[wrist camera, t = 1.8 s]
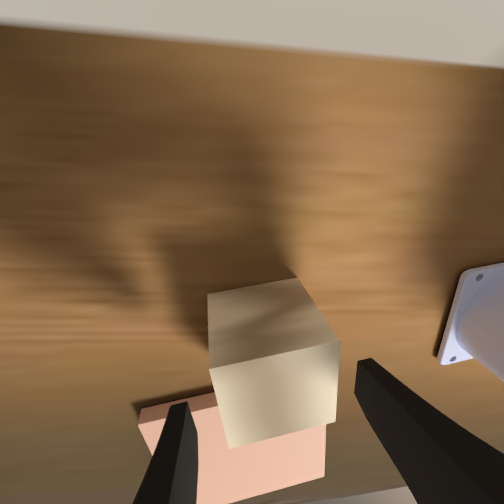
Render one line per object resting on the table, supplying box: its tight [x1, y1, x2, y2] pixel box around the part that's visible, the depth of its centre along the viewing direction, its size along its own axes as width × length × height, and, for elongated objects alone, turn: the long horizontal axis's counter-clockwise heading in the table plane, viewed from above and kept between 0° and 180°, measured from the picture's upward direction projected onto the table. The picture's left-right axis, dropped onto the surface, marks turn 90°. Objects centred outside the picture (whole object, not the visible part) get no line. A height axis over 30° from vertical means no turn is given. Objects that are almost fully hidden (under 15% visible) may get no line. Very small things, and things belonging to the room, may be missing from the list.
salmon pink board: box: [138, 392, 326, 504], centre depth 19 cm, size 12×12×1 cm
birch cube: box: [207, 278, 340, 449], centre depth 13 cm, size 5×5×5 cm
